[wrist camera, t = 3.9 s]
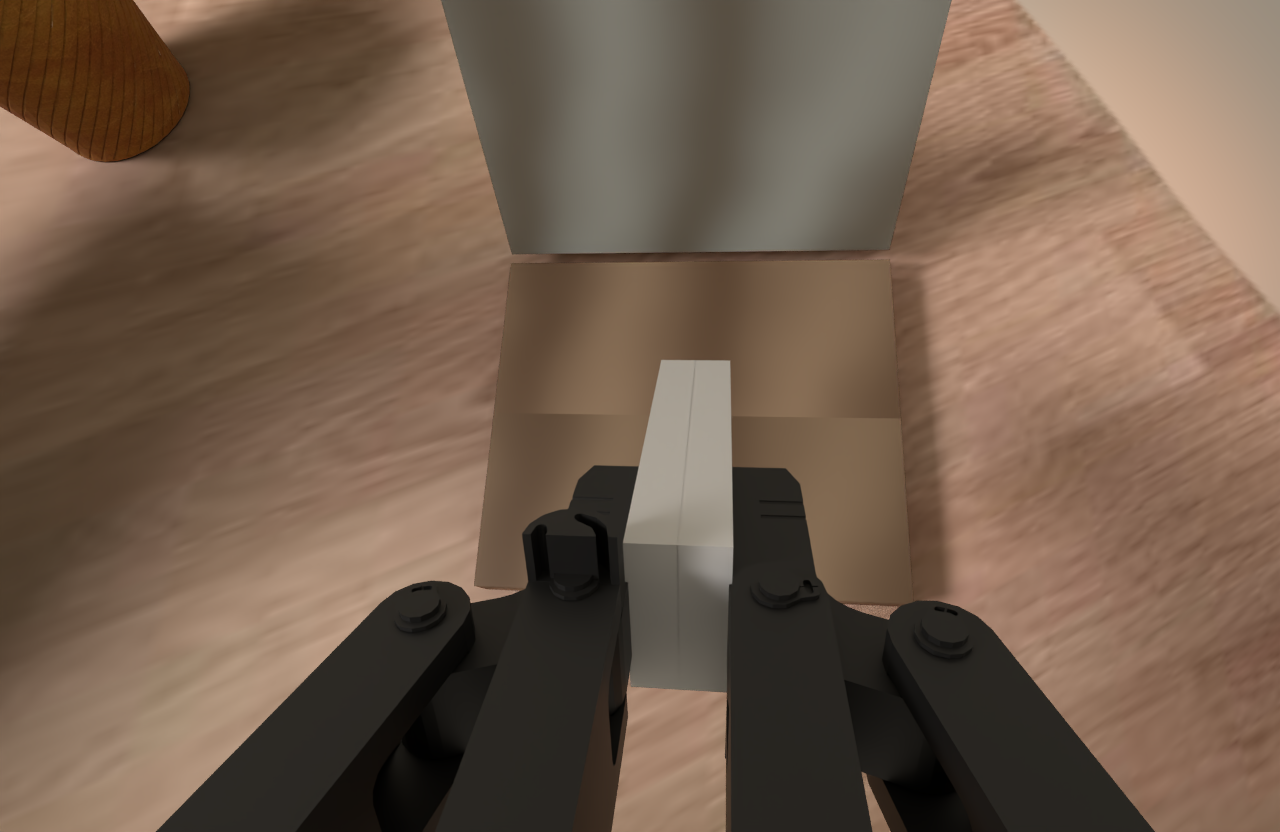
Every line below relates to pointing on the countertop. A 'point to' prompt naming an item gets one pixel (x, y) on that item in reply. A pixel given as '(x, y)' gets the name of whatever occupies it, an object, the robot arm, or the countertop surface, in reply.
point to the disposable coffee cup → (90, 75)
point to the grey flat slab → (697, 119)
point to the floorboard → (760, 397)
